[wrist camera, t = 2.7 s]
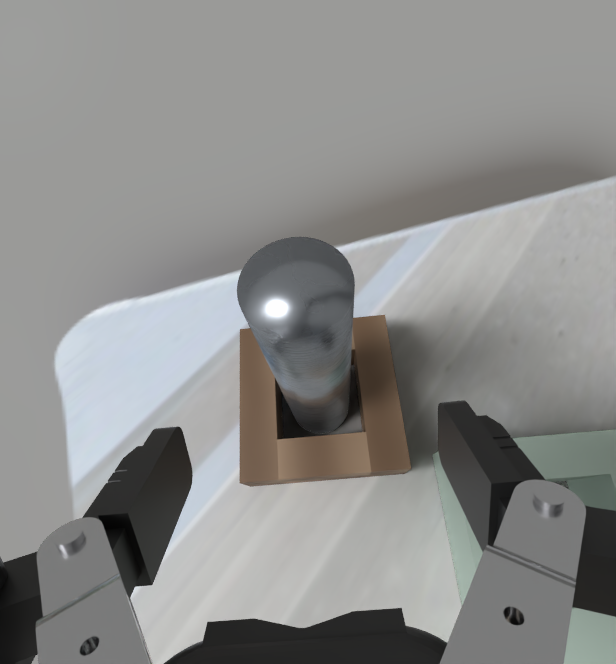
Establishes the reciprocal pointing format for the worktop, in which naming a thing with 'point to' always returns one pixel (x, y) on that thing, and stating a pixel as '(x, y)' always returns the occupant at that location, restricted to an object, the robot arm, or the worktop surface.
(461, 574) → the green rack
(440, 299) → the worktop surface
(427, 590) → the worktop surface
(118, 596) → the robot arm
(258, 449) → the walnut socket
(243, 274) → the ball
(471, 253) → the worktop surface
